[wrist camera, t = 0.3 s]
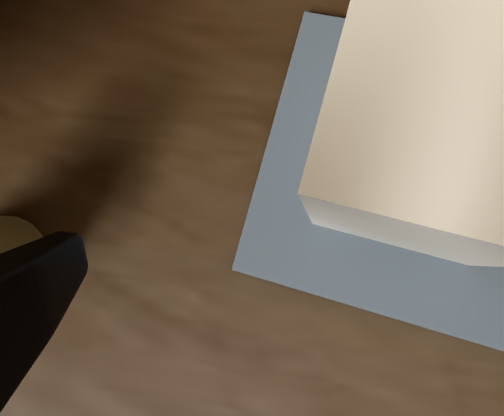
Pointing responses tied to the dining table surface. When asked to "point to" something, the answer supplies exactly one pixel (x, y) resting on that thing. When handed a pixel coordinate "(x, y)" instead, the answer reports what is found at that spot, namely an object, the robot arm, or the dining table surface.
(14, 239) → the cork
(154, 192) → the dining table surface
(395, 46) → the white rectangular block
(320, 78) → the mat
